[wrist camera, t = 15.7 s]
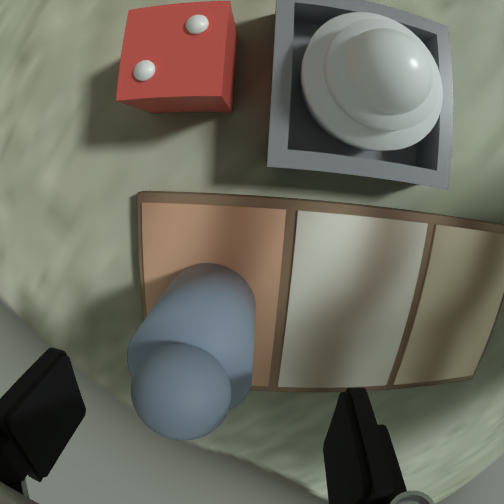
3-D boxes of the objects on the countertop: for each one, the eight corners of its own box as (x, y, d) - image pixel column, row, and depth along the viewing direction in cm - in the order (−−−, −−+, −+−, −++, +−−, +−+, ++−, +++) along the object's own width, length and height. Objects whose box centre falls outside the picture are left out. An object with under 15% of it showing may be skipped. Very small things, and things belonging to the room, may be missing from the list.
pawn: (260, 268, 17) (257, 379, 8) (251, 348, 18) (242, 477, 9) (166, 258, 17) (84, 350, 8) (167, 338, 18) (111, 452, 9)
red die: (237, 37, 14) (229, -1, 10) (232, 112, 15) (221, 95, 11) (158, 40, 14) (127, 8, 10) (150, 113, 15) (114, 100, 11)
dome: (423, 43, 12) (470, 14, 7) (422, 160, 13) (477, 165, 9) (301, 17, 12) (315, -32, 7) (295, 142, 14) (310, 134, 9)
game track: (513, 226, 16) (521, 229, 15) (467, 373, 20) (472, 379, 19) (142, 191, 16) (136, 192, 16) (154, 371, 20) (150, 379, 19)
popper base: (423, 41, 13) (448, 26, 10) (421, 183, 16) (448, 189, 13) (275, 13, 13) (277, -13, 11) (266, 165, 16) (267, 166, 13)
